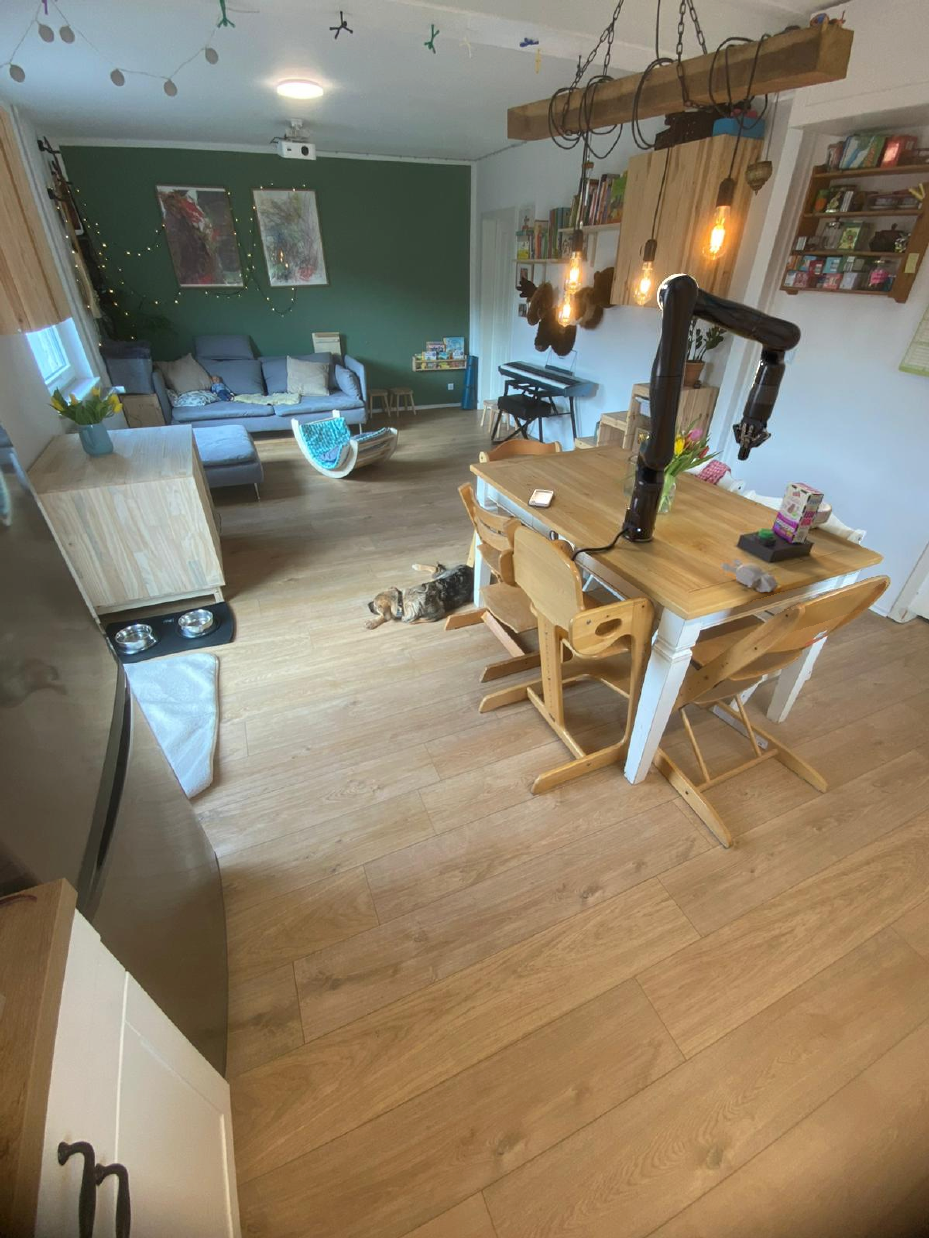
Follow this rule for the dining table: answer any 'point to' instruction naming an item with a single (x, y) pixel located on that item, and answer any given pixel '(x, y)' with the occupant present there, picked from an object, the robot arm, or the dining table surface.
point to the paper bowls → (822, 514)
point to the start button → (766, 533)
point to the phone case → (541, 498)
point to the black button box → (773, 547)
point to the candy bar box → (797, 512)
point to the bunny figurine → (752, 576)
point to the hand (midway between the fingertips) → (741, 459)
